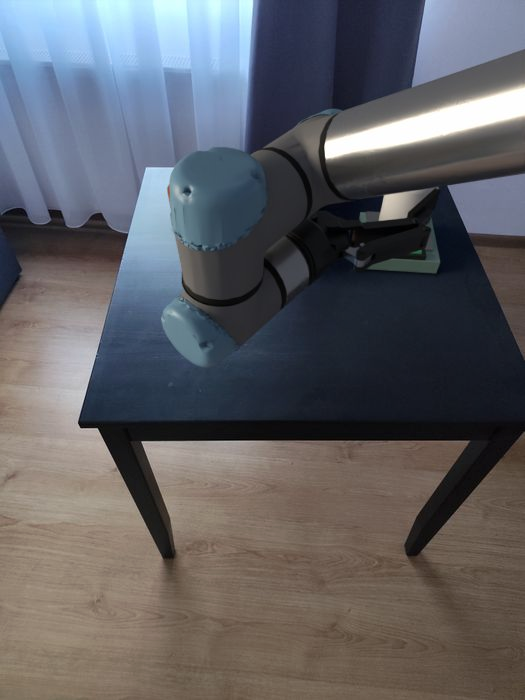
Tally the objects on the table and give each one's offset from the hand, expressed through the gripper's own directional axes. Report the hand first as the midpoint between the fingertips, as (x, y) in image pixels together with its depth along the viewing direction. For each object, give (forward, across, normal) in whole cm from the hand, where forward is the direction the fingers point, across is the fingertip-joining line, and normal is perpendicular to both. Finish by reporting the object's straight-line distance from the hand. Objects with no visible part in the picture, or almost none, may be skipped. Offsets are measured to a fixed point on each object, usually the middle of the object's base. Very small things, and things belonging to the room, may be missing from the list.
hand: (387, 179), depth 62 cm
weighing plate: (+15, -3, -19) cm, 24 cm away
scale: (+14, -2, -21) cm, 26 cm away
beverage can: (+14, -2, -18) cm, 23 cm away
